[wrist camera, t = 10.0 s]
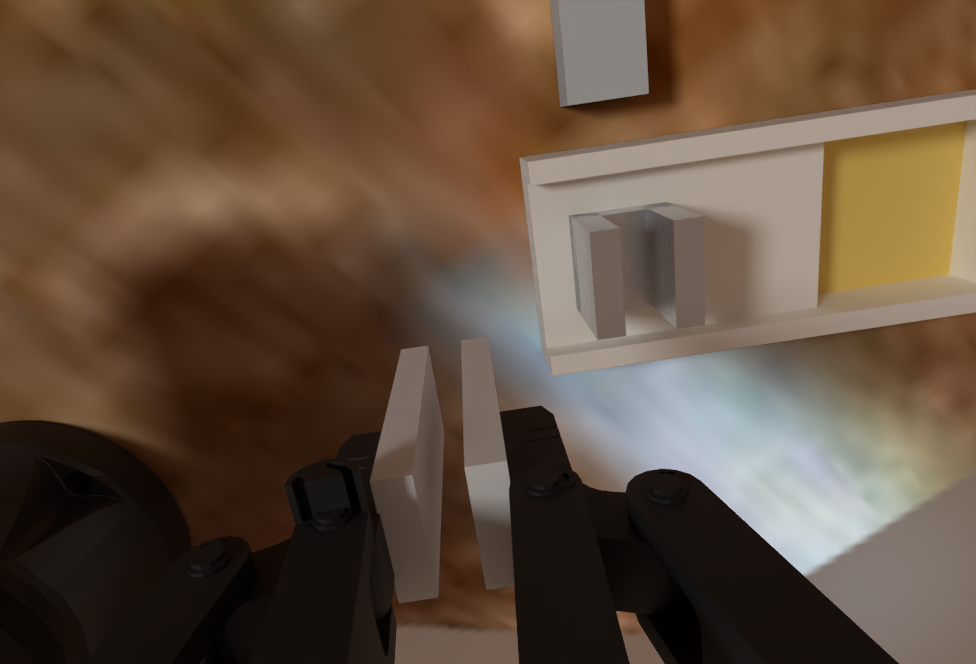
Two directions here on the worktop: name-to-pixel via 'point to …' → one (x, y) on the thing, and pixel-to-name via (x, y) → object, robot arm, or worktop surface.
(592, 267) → the clip
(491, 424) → the robot arm
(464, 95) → the worktop surface
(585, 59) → the grey tall rectangular block
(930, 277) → the box with sliding lid
